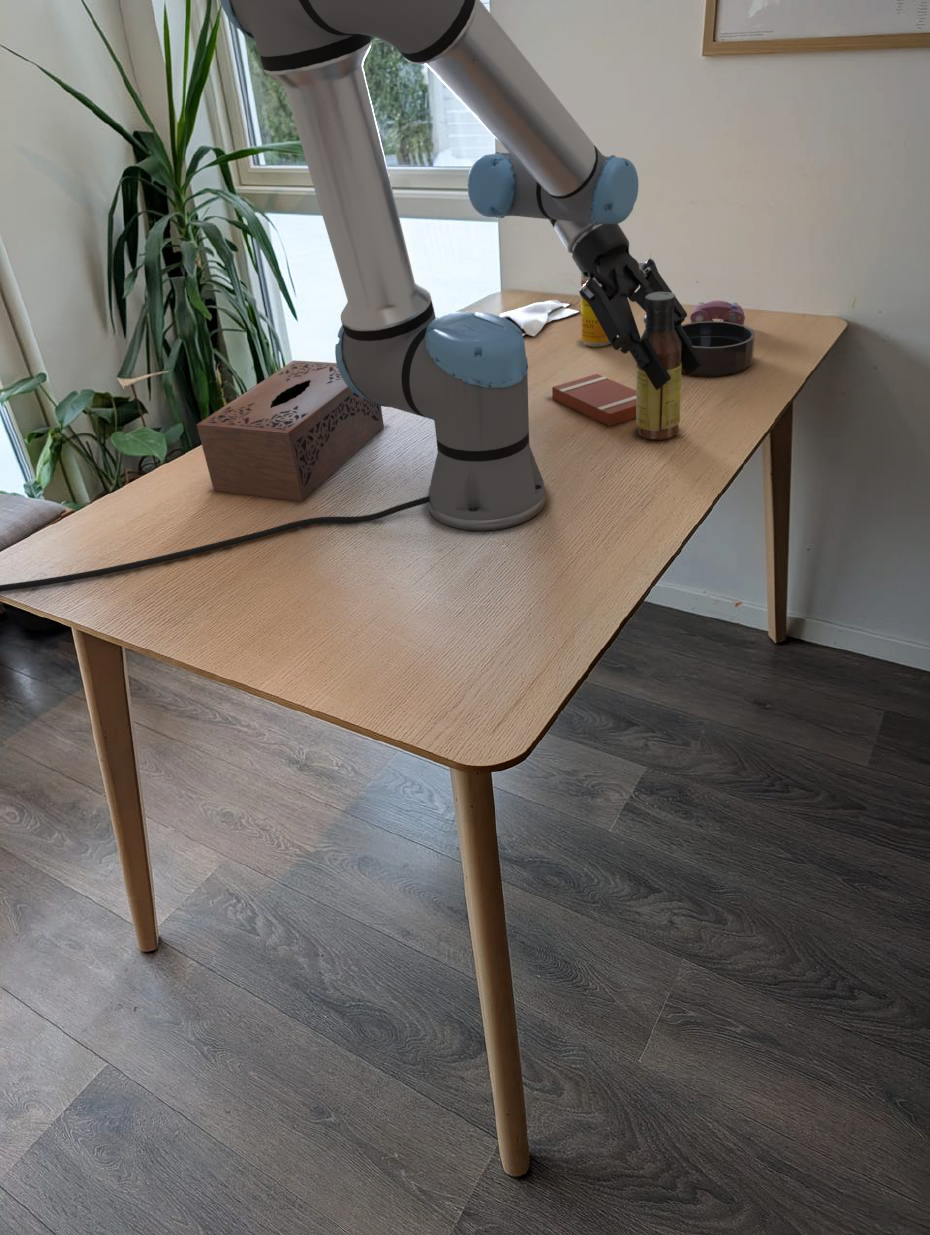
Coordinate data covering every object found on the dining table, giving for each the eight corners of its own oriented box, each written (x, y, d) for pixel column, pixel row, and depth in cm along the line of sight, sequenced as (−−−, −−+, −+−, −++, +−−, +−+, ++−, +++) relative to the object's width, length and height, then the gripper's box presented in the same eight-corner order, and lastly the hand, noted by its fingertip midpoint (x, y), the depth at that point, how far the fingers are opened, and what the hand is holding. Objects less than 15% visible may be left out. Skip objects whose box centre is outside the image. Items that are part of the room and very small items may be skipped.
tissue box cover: (301, 501, 121) (287, 433, 116) (213, 490, 126) (196, 424, 121) (383, 427, 141) (375, 365, 135) (304, 420, 146) (293, 360, 140)
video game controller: (688, 339, 168) (688, 311, 162) (690, 322, 170) (691, 293, 164) (742, 340, 165) (745, 311, 159) (744, 322, 167) (747, 293, 161)
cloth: (537, 300, 192) (536, 289, 191) (591, 307, 185) (591, 296, 183) (462, 335, 176) (461, 323, 175) (518, 344, 169) (517, 332, 167)
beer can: (575, 341, 168) (574, 258, 159) (602, 335, 170) (603, 252, 161) (592, 349, 163) (592, 264, 155) (620, 343, 165) (622, 258, 156)
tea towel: (609, 426, 134) (609, 413, 133) (552, 398, 145) (551, 386, 144) (656, 411, 137) (656, 398, 136) (596, 385, 148) (596, 373, 147)
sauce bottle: (676, 424, 133) (686, 287, 122) (681, 441, 128) (691, 300, 116) (632, 425, 134) (637, 289, 122) (634, 442, 128) (640, 302, 117)
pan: (706, 384, 145) (708, 354, 142) (649, 362, 155) (650, 333, 153) (769, 363, 150) (773, 334, 148) (710, 344, 161) (712, 316, 158)
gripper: (557, 233, 116) (650, 382, 115) (653, 206, 126) (740, 343, 124) (531, 270, 123) (618, 411, 121) (624, 241, 132) (705, 372, 131)
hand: (679, 376), depth 123 cm, fingers closed on sauce bottle, 6 cm apart
